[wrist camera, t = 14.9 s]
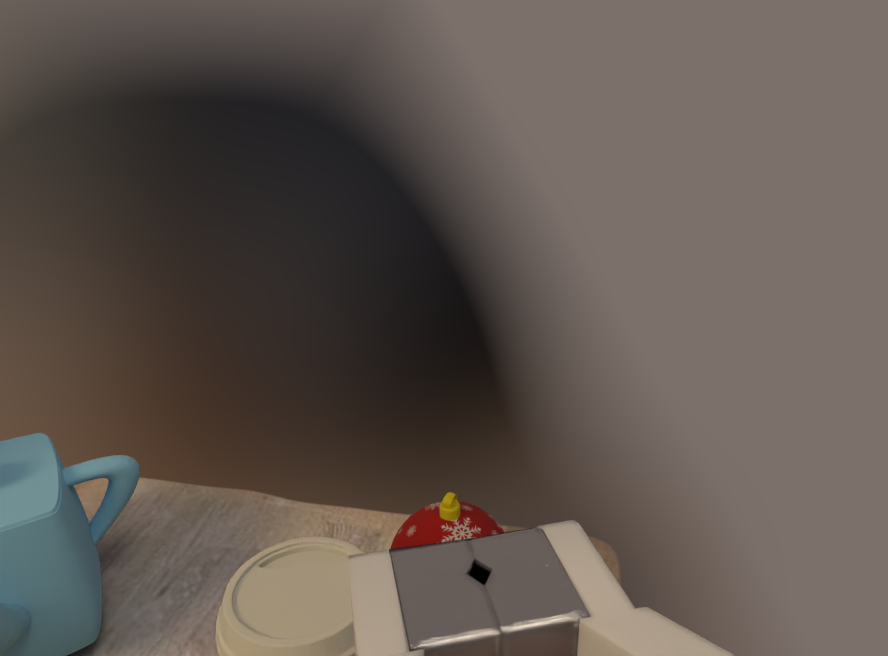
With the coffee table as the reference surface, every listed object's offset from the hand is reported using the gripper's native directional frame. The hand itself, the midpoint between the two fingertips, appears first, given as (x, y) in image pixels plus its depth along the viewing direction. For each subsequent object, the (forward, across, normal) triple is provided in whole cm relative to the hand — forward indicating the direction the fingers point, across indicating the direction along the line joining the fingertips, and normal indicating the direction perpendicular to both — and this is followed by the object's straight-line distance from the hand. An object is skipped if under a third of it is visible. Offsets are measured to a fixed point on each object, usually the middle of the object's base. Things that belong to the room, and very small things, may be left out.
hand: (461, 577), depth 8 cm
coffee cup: (+20, +4, +29) cm, 35 cm away
